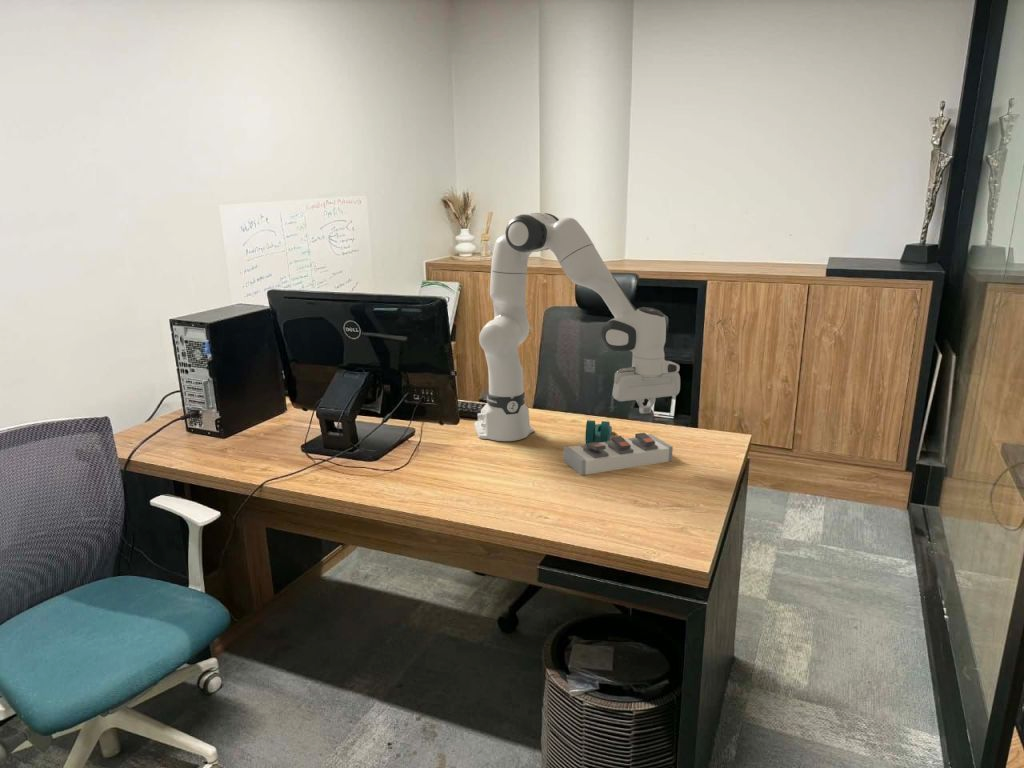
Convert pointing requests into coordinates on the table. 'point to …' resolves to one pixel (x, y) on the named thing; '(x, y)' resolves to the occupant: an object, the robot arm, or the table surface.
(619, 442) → the rocker
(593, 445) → the rocker
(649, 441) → the rocker
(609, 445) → the power strip
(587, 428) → the bracket
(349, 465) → the table surface
